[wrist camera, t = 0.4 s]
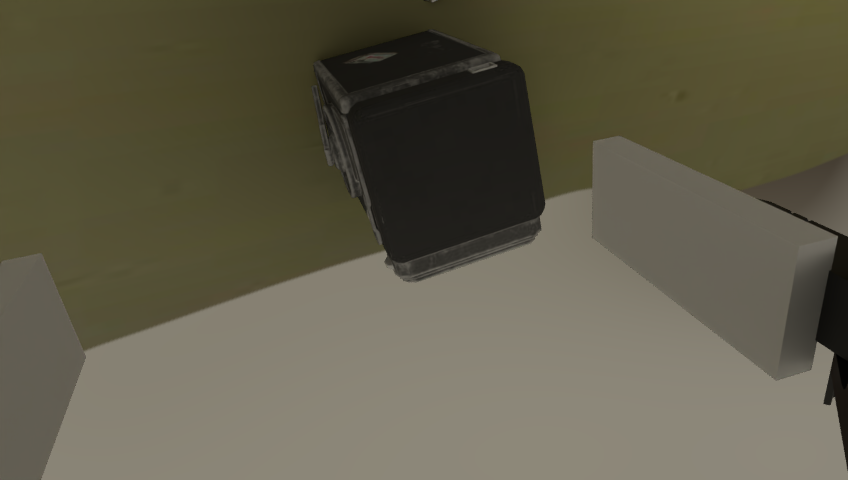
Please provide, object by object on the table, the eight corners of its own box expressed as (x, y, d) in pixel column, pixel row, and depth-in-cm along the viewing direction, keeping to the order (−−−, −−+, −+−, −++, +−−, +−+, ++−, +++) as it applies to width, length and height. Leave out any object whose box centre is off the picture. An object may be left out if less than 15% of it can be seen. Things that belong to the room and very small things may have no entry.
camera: (338, 213, 44) (385, 325, 30) (292, 63, 39) (323, 119, 26) (476, 169, 45) (578, 258, 32) (448, 19, 40) (554, 51, 27)
